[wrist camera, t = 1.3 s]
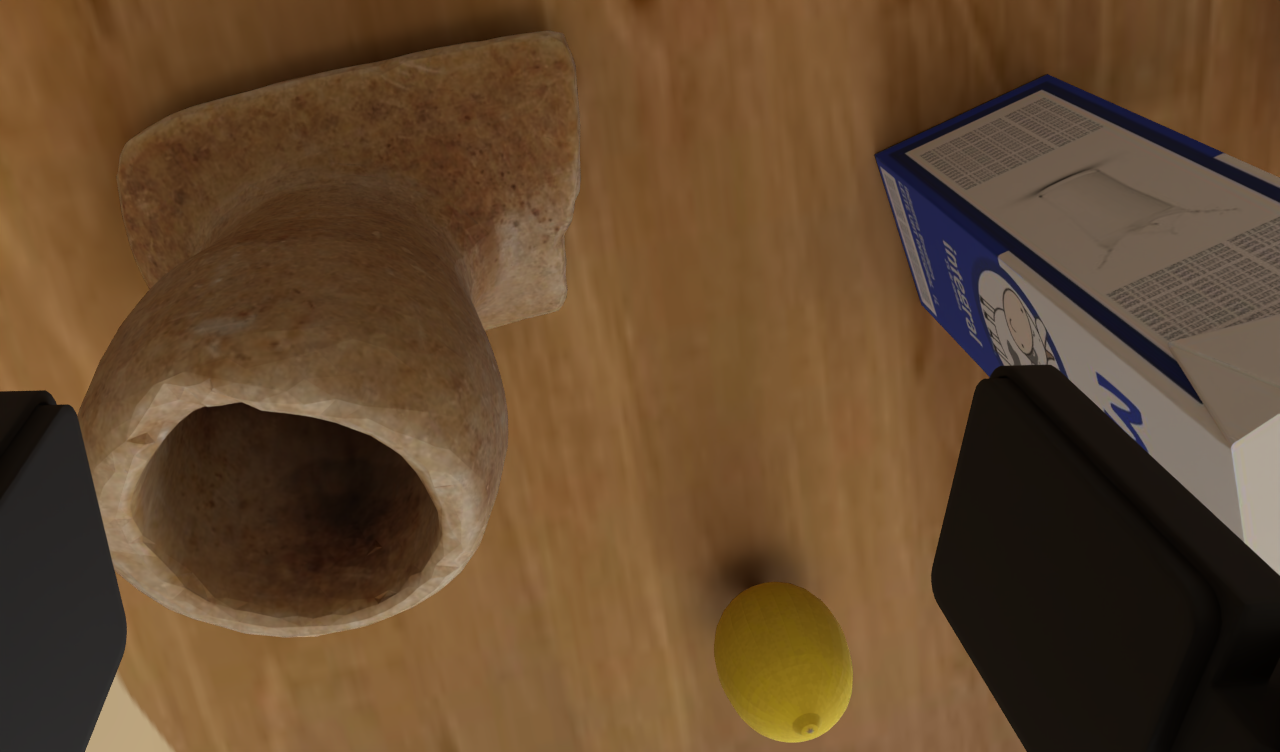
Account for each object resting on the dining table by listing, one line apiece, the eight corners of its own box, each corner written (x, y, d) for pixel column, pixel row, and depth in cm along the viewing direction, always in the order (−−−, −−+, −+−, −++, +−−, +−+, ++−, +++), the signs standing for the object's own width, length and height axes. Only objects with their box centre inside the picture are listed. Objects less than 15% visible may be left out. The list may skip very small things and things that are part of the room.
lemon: (838, 596, 47) (903, 731, 40) (740, 659, 48) (787, 801, 41) (776, 524, 45) (835, 655, 38) (673, 592, 46) (712, 732, 39)
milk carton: (872, 149, 37) (1237, 447, 20) (1046, 68, 36) (1579, 300, 19) (922, 308, 40) (1269, 680, 23) (1082, 236, 40) (1558, 560, 23)
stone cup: (223, 419, 38) (102, 733, 25) (88, 104, 32) (-162, 303, 19) (621, 334, 39) (703, 596, 26) (561, 12, 33) (627, 143, 20)
